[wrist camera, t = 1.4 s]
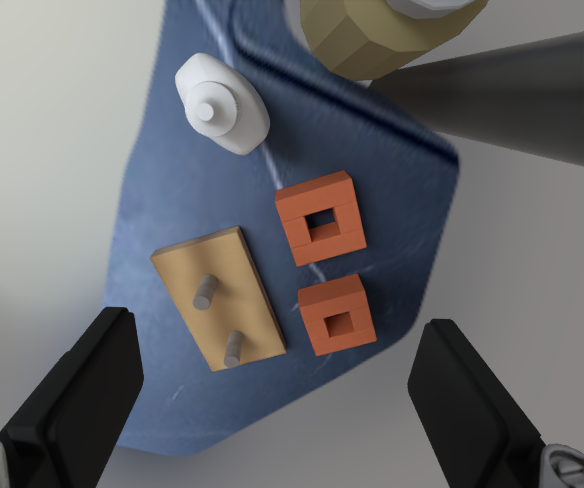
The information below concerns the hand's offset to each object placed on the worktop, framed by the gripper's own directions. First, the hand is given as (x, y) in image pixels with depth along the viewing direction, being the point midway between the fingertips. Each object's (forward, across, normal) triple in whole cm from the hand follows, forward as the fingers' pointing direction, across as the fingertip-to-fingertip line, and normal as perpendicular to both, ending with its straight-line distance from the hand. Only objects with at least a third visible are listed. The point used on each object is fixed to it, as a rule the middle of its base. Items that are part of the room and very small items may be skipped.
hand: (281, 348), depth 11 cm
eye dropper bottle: (+19, +4, -7) cm, 20 cm away
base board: (+19, +5, +11) cm, 22 cm away
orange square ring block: (+19, -6, +11) cm, 23 cm away
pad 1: (+19, -4, +2) cm, 19 cm away
